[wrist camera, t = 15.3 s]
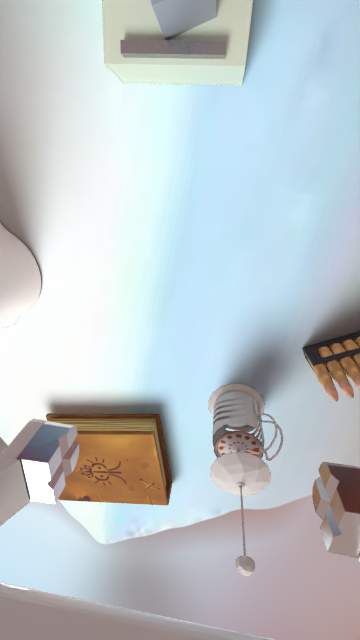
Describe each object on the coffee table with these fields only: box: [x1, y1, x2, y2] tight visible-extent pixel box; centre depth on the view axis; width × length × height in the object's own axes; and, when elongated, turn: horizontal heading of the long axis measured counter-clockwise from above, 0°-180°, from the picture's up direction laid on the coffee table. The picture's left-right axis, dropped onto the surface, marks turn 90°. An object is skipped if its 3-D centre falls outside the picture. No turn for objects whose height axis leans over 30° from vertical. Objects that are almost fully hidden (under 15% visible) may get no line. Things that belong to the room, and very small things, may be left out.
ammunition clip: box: [303, 331, 360, 402], centre depth 39 cm, size 11×2×12 cm, turn 114°
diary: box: [46, 414, 172, 505], centre depth 59 cm, size 23×19×6 cm
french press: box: [208, 384, 283, 576], centre depth 40 cm, size 10×12×25 cm
